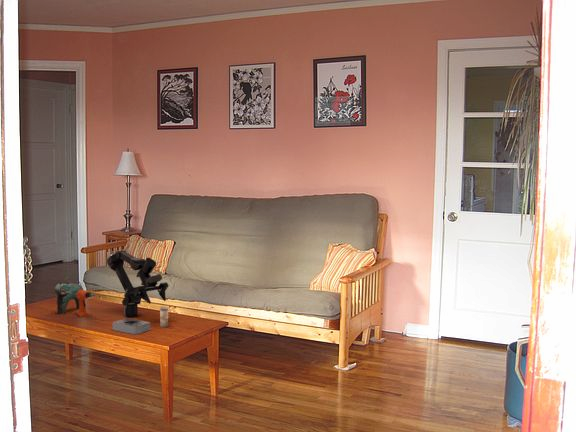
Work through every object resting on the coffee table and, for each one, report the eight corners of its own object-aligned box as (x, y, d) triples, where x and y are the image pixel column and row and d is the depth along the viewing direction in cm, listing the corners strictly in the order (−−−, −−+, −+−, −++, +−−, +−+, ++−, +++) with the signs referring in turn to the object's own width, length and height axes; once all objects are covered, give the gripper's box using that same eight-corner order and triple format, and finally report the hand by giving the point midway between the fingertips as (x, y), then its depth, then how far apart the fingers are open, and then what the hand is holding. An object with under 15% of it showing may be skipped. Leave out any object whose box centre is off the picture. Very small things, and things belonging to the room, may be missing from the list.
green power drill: (61, 315, 339) (60, 279, 337) (52, 313, 342) (51, 278, 340) (86, 307, 357) (86, 274, 355) (78, 306, 360) (77, 273, 358)
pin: (167, 325, 320) (167, 306, 319) (169, 326, 316) (169, 308, 316) (159, 325, 318) (159, 307, 318) (161, 327, 315) (161, 308, 314)
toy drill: (92, 318, 327) (90, 290, 327) (75, 316, 340) (73, 289, 340) (100, 316, 331) (98, 289, 331) (83, 314, 343) (81, 288, 343)
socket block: (127, 325, 318) (127, 318, 318) (150, 330, 310) (150, 322, 310) (112, 329, 309) (112, 322, 309) (135, 334, 301) (135, 326, 301)
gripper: (136, 271, 316) (148, 295, 309) (166, 267, 330) (178, 290, 323) (128, 284, 322) (140, 308, 316) (158, 279, 336) (170, 302, 329)
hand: (157, 301), depth 321 cm, fingers open, 9 cm apart
